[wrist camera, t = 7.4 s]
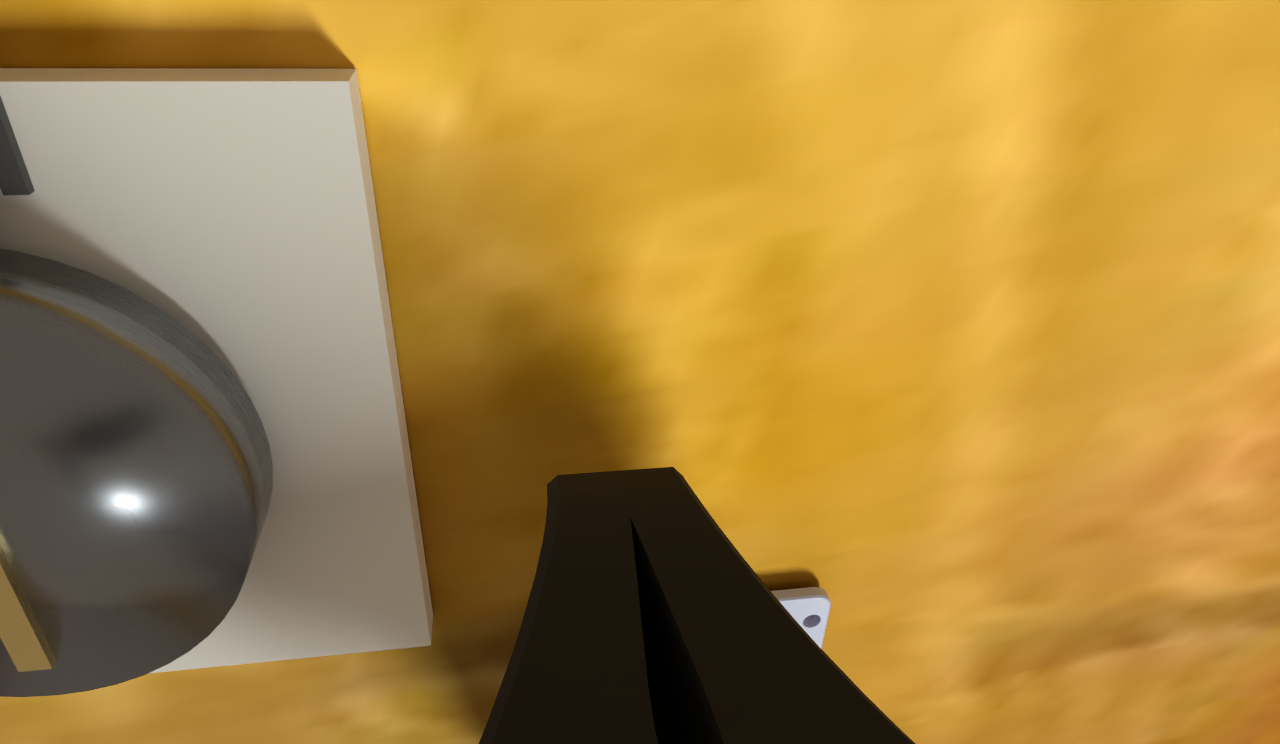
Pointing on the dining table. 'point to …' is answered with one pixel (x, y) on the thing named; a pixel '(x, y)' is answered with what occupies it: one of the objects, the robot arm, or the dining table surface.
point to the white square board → (249, 312)
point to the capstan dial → (115, 482)
